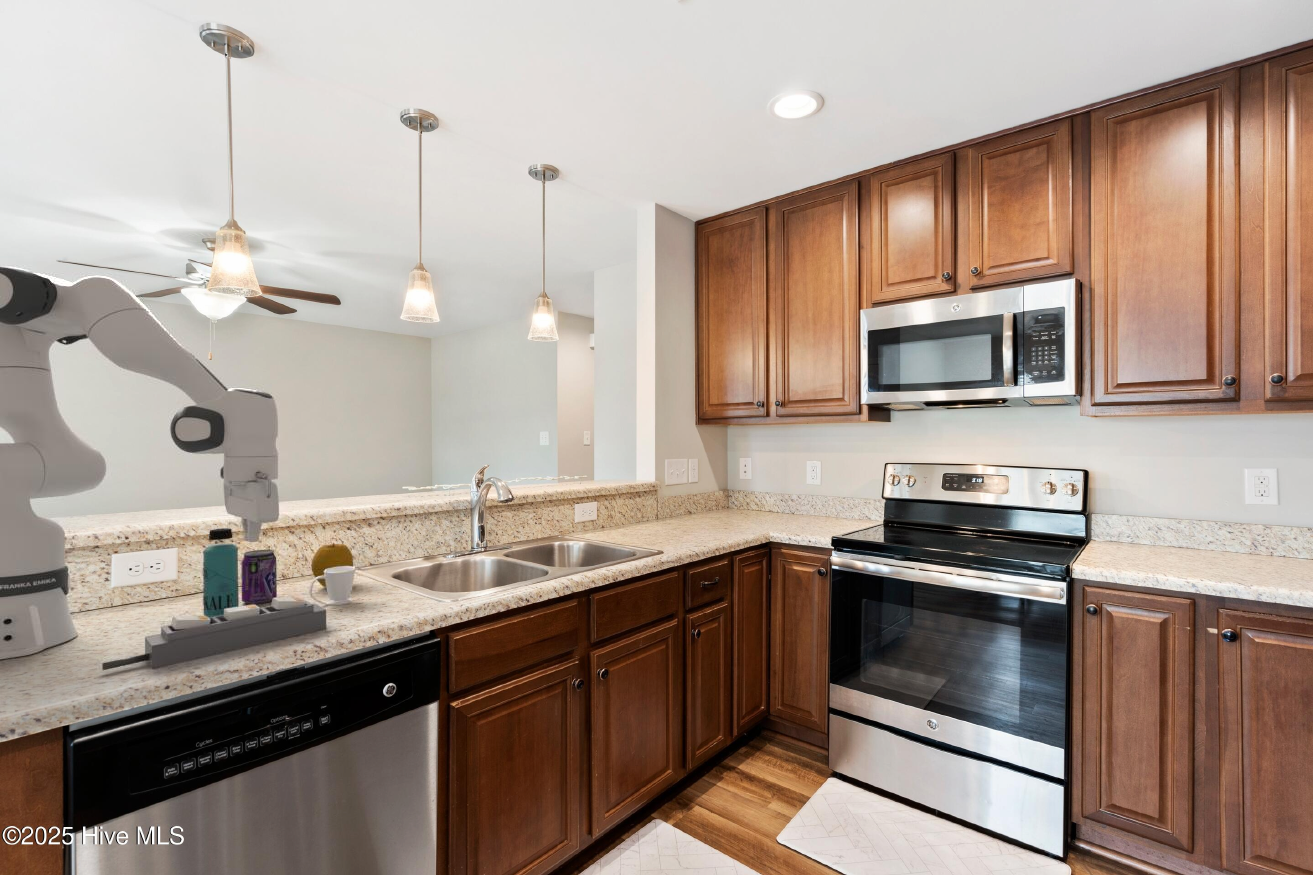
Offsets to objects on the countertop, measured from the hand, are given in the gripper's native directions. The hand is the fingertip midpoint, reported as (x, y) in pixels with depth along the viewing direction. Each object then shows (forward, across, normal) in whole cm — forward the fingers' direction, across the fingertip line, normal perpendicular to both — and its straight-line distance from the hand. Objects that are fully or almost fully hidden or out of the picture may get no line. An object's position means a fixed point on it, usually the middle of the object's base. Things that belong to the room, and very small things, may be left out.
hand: (251, 541), depth 118 cm
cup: (+20, +14, -21) cm, 32 cm away
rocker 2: (+14, -1, +2) cm, 14 cm away
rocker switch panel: (+19, -1, +5) cm, 20 cm away
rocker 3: (+14, -1, -6) cm, 15 cm away
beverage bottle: (+20, +19, 0) cm, 28 cm away
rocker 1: (+14, 0, +10) cm, 17 cm away
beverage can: (+20, +30, -10) cm, 37 cm away
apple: (+20, +30, -27) cm, 45 cm away
